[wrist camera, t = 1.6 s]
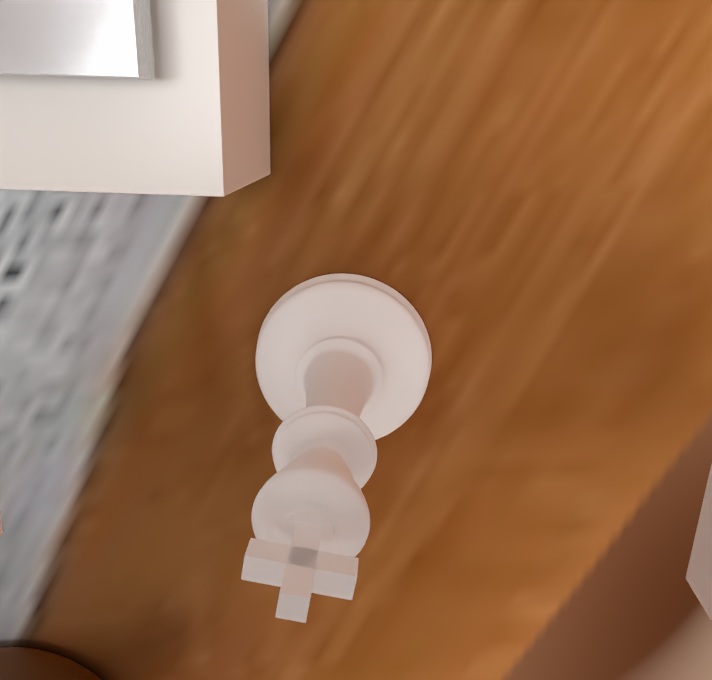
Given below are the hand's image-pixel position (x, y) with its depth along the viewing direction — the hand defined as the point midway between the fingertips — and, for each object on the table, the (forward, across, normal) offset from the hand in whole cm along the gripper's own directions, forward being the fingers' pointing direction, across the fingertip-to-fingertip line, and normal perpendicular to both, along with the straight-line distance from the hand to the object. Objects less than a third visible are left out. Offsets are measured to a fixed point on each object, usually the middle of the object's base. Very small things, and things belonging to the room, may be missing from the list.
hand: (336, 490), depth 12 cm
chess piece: (+7, 0, 0) cm, 7 cm away
